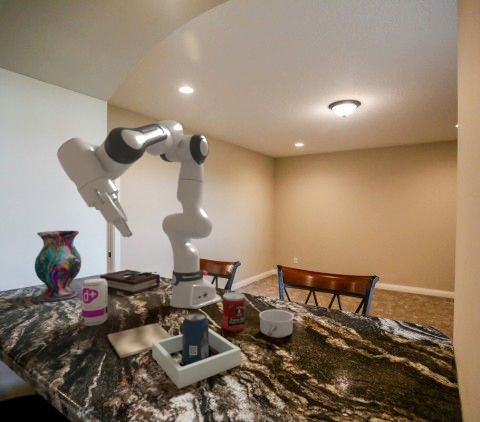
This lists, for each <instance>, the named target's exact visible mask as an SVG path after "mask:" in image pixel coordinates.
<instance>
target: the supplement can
mask: <svg viewBox="0 0 480 422" xmlns="http://www.w3.org/2000/svg"><path fill="white" fill-rule="evenodd" d="M107 320H108V283H107V282H106V279H104V278H100V277H95V278H89V279H85V280H84V281H83V283H82V284H81V323H82V325H85V326H88V327H91V326H92V327H93V326H99V325H102V324H103V323H105V322H106V321H107Z"/></svg>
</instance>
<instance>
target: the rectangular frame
mask: <svg viewBox="0 0 480 422" xmlns="http://www.w3.org/2000/svg"><path fill="white" fill-rule="evenodd" d="M182 336H183V333H182V334H179V335H175V336H172V337H170V338H167V339H163V340H159V341H156V342H152V349H151V350H152V353H151V354H152V358H153V360H154V361H155V360H156V361H157V362H156V361H155V362H156V363H157V364H158V366H159V367H160V366H161V367H160V368H161V369H162V370H163V372H164V373H165V372H166V373H165V374H166V375H167V376H168V378H169V379H170V380H171V381H172V382H173V383H174V385H175V386H176V387H177V388H178V389H179V390H180V389H181V388H185V387H187V386H190V385H193V384H194V383H198V382H199V381H202V380H206V379H207V378H209V377H212V376H215V375H218V374H220V373H222V372H224V371H225V372H226V371H228V370H231V369H232V368H235V367H238V366H241V364H242V362H241V361H242V349H241V348H240V347H238V346H237V345H235V344H234V343H232V342H230V340H227V339H226V338H225V337H223V336H221V335H220V334H219V333H217V332H215V330H213V329H211V328H209V346H210V347H211V348H212V349H214V350H215V351H217V352H218V353H219V354H215V355H212V356H208V358H207V359H204V360H201V361H198V362H195V363H192V364H189V365H187V364H185V365H184V366H183V365H182V366H181V365H180V363H178V361H176V359H174V357H172V355H171V354H173V353H176V352H180V351H182Z"/></svg>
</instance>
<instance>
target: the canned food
mask: <svg viewBox="0 0 480 422" xmlns="http://www.w3.org/2000/svg"><path fill="white" fill-rule="evenodd" d="M245 324H246V295H245V294H244V293H242V292H238V291H237V292H235V291H233V292H226V293H224V294H223V295H222V327H223V329H224V330H226V331H227V332H240V331H243V329H245Z"/></svg>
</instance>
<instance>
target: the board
mask: <svg viewBox="0 0 480 422" xmlns="http://www.w3.org/2000/svg"><path fill="white" fill-rule="evenodd" d="M170 337H173V336H172V335H171V334H170V333H169V332H167V330H165V328H163V327H162V326H161V325H159V323H157V322H156V323H151V324H147V325H142V326H138V327H133V328H130V329H126V330H123V331H121V330H120V331H118V332H113V333H109V334H107V339H108V340H109V342H110V343H111V345H112V347H113V349H114V350H115V351H116V353H117V355H118V357H119V358H120V359H123V358H126V357H127V358H128V357H131V356H133V355H137V354H140V353H143V352H147V351H150V350H152V342H156V341H159V340H163V339H167V338H170Z"/></svg>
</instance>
